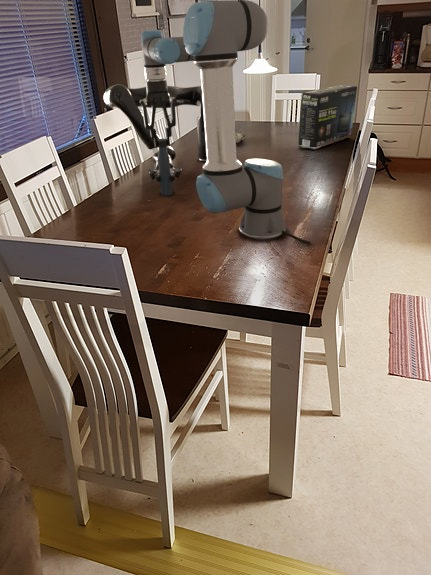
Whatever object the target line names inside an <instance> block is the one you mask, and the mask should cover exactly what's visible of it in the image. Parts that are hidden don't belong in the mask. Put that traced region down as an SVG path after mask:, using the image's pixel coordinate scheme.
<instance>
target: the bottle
mask: <svg viewBox="0 0 431 575" xmlns="http://www.w3.org/2000/svg"><path fill="white" fill-rule="evenodd" d="M157 151H159V152H158V157H157V158H158V159H157V160H158V170H159V180H160V182H159V188H160V195H161V196H164V197H166V196H172V195H173V194H174V193H173V183H172V182H173V181H172V180H171V168H170V158H169V154H168V151H167V149H166V147H158V149H157Z"/></svg>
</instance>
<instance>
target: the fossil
mask: <svg viewBox="0 0 431 575" xmlns="http://www.w3.org/2000/svg"><path fill="white" fill-rule="evenodd" d="M235 133H236V143H237V144H239V143H240V142H241V141H242V140H243V139H242V138H243V137H245V136H246V132H244V131H242V130H237V129H235ZM246 137H247V136H246ZM246 137H245V138H246ZM238 142H239V143H238Z"/></svg>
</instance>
